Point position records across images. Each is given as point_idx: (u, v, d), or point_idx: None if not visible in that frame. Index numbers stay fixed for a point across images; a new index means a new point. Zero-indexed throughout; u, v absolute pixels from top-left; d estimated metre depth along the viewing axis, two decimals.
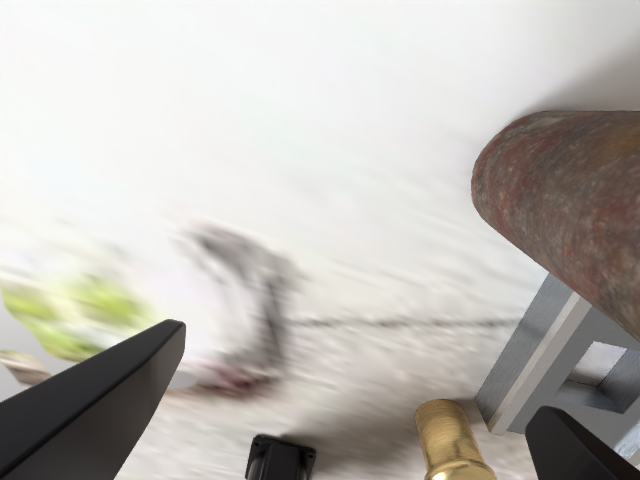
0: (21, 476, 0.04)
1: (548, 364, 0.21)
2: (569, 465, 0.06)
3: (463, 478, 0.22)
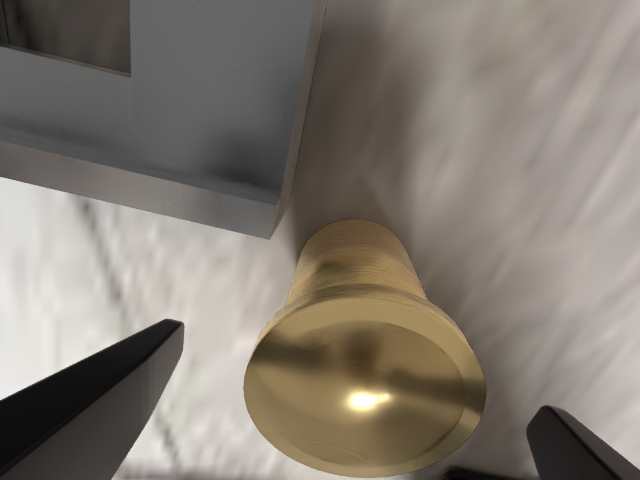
0: (18, 475, 0.04)
1: None
2: (571, 465, 0.06)
3: (293, 406, 0.07)
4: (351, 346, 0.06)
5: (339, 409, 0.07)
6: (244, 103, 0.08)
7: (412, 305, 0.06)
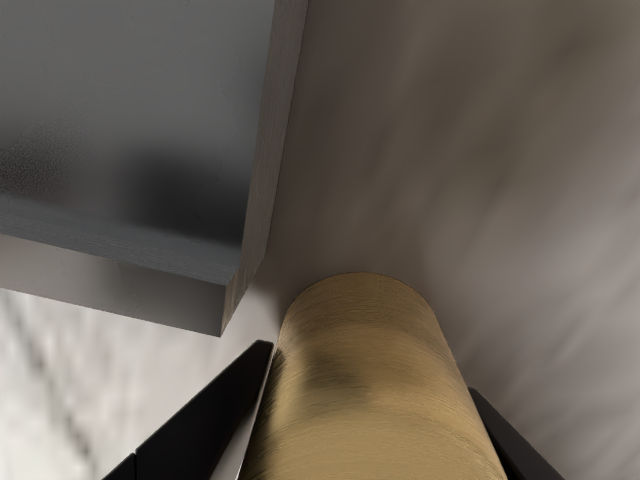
0: None
1: None
2: None
3: None
4: None
5: None
6: (165, 105, 0.04)
7: None
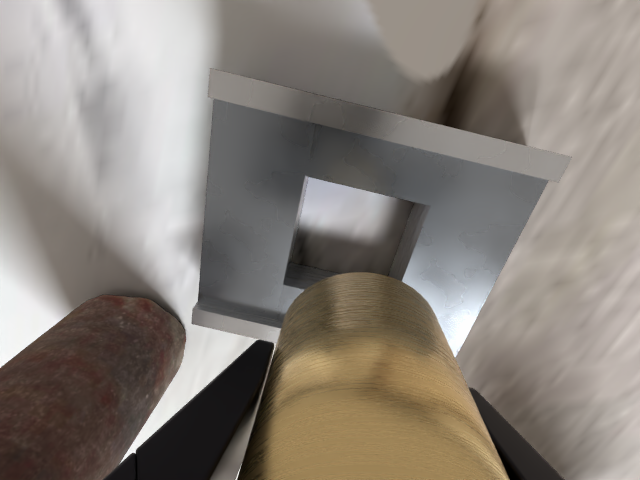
0: None
1: None
2: None
3: None
4: None
5: None
6: (446, 322, 0.16)
7: None
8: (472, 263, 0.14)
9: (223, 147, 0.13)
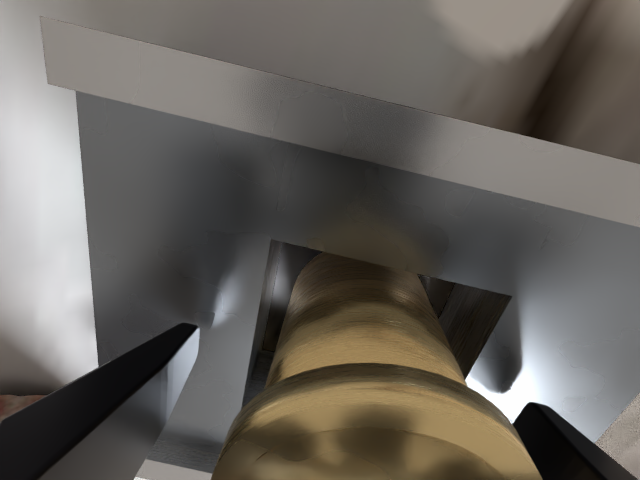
0: None
1: None
2: (554, 461, 0.06)
3: None
4: (359, 458, 0.04)
5: None
6: None
7: (450, 404, 0.04)
8: (579, 390, 0.08)
9: (109, 184, 0.07)
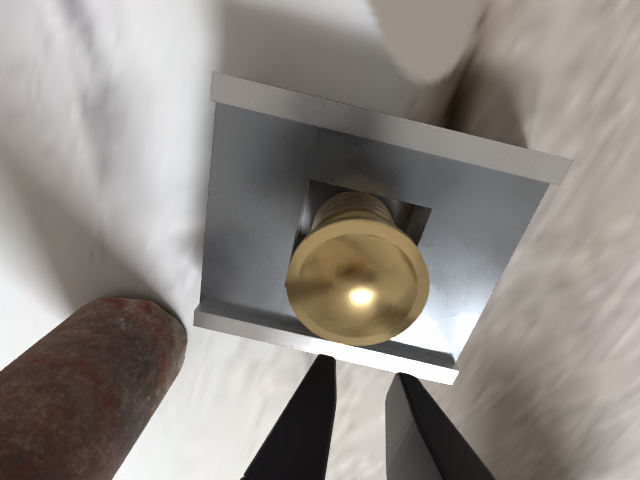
0: None
1: (316, 341, 0.16)
2: (401, 427, 0.06)
3: (315, 293, 0.11)
4: (350, 250, 0.11)
5: (344, 294, 0.11)
6: (447, 324, 0.16)
7: (385, 225, 0.10)
8: (474, 266, 0.14)
9: (225, 149, 0.13)
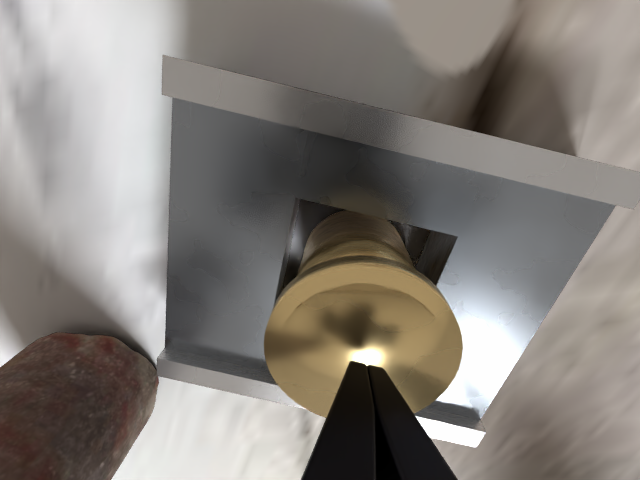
0: None
1: None
2: None
3: (305, 359, 0.08)
4: (352, 305, 0.08)
5: (343, 361, 0.08)
6: (473, 375, 0.13)
7: (402, 271, 0.07)
8: (509, 307, 0.11)
9: (187, 160, 0.10)
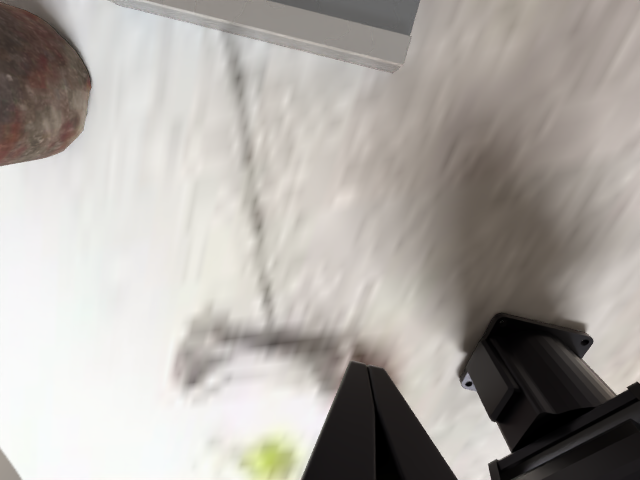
0: None
1: None
2: None
3: None
4: None
5: None
6: None
7: None
8: None
9: None
